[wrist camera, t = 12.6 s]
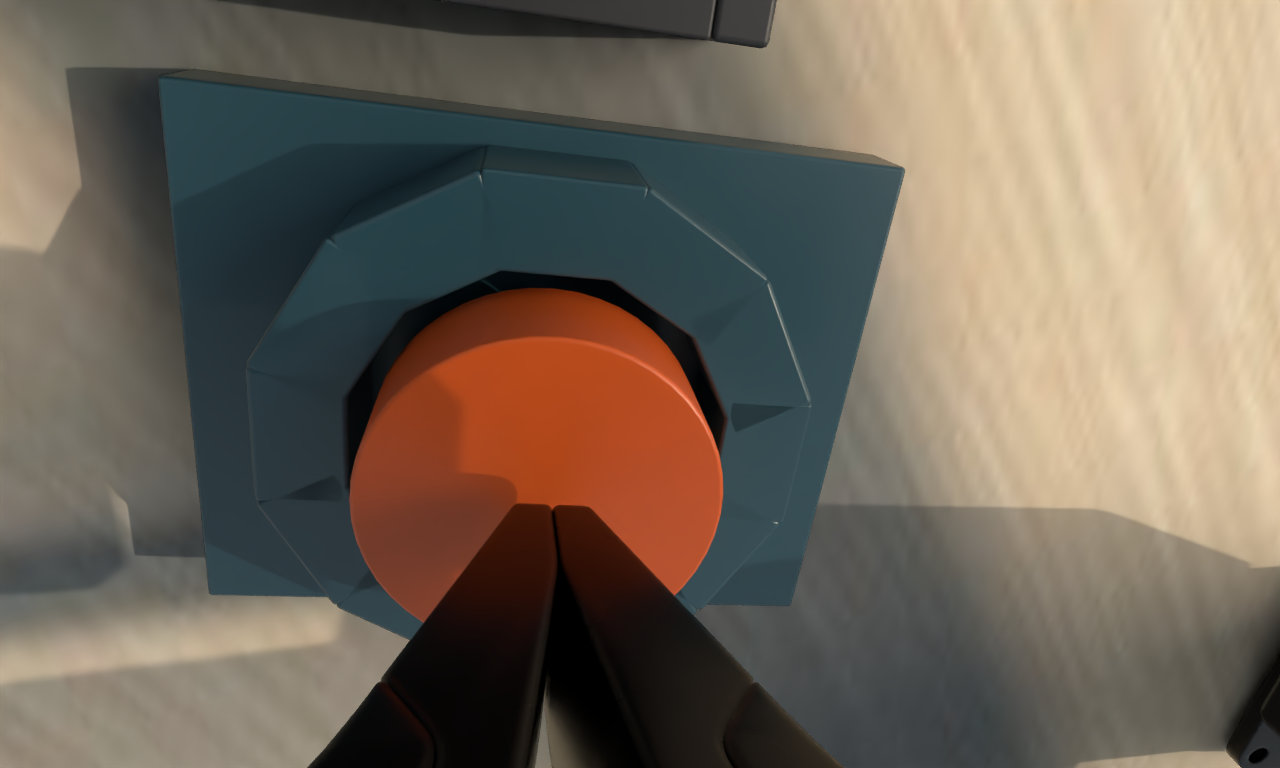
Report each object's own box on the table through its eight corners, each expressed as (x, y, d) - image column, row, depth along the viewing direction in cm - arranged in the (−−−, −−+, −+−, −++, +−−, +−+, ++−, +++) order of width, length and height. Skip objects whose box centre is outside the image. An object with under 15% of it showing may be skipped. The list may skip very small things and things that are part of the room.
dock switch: (874, 154, 13) (969, 193, 10) (772, 567, 16) (824, 680, 13) (190, 67, 11) (83, 88, 8) (231, 551, 14) (164, 679, 12)
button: (721, 301, 11) (755, 352, 9) (671, 572, 12) (692, 655, 11) (373, 270, 10) (345, 320, 8) (373, 564, 12) (350, 652, 10)
